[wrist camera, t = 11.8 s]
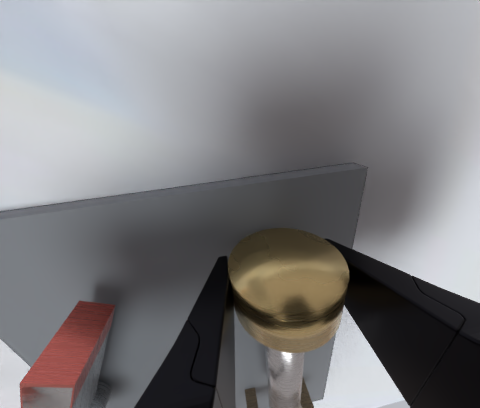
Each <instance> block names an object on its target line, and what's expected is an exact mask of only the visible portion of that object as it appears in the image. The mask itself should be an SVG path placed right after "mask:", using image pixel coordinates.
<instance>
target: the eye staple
mask: <svg viewBox="0 0 480 408" xmlns="http://www.w3.org/2000/svg"><path fill="white" fill-rule="evenodd" d="M245 396H246V404H247V408H258V403H257V397H256V390H255V387H254V388H249V389H245ZM300 408H314V406H313V404H312V401H311V398H310V395H309V392H308V389H307V387H306V384H305V381H304V378H303V377H302V389H301V401H300Z"/></svg>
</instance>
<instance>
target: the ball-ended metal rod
mask: <svg viewBox="0 0 480 408" xmlns="http://www.w3.org/2000/svg"><path fill="white" fill-rule="evenodd" d="M114 310H115V305H111V304H103V303H96V302H88V301H80V300H79V302H78V303H77V305H76V306H75V307H74V309H73V310H72V312H71V313H70V314H69V316H68V317H67V319H66V320H65V321H64V323H63V324H62V325H61V327H60V328H59V330H58V331H57V332H56V334H55V335H54V337H53V338H52V339H51V341H50V342H49V344H48V345H47V346H46V348H45V349H44V351H43V352H42V353H41V355H40V356H39V357H38V359H37V360H36V362H35V363H34V364H33V366H32V367H31V369H30V370H29V371H28V373H27V374H26V376H25V377H24V378H23V380H22V381H21V382H20V397H21V408H106V407H107V404H108V401H109V398H110V395H111V393H112V389H111V387H110V386H109V385H107V384H105V383H103V382H100V381H98V380H99V375H100V371H101V366H102V361H103V356H104V352H105V347H106V342H107V337H108V333H109V329H110V327H111V324H112V319H113V314H114Z"/></svg>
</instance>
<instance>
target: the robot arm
mask: <svg viewBox="0 0 480 408" xmlns="http://www.w3.org/2000/svg"><path fill="white" fill-rule="evenodd" d="M325 240H326V241H328V242H329V243H331V244H332V245H333V246H334V247H335V248H337V249H338V250H339V252H340V253H341V254H342V255H343V257H344V259H345V260H346V263H347V265H348V269H349V282H348V287H347V292H346V297H345V302H344V305H345V307H346V308H347V310H348V311H349V313H350V315H351V316H352V318H353V319H354V321H355V322H356V324H357V325H358V327H359V329H360V330H361V332H362V333H363V335H364V336H365V338H366V339H367V341H368V343H369V344H370V346H371V347H372V349H373V350H374V352H375V353H376V355H377V357H378V358H379V360H380V361H381V363H382V364H383V366H384V367H385V369H386V371H387V372H388V374H389V375H390V377H391V378H392V380H393V381H394V383H395V385H396V386H397V388H398V389H399V391H400V392H401V394H402V395H403V397H404V399H405V400H406V402H407V403H408V405H409V406H410V408H480V303H478V302H475V301H473V300H470V299H468V298H465V297H462V296H460V295H457V294H455V293H452V292H450V291H447V290H445V289H442V288H440V287H437V286H435V285H433V284H430V283H428V282H426V281H423V280H421V279H419V278H417V277H414V276H411V275H410V274H407V273H405V272H403V271H401V270H398V269H396V268H394V267H391V266H389V265H387V264H385V263H382V262H380V261H378V260H375V259H373V258H371V257H369V256H366V255H364V254H362V253H360V252H357V251H355V250H353V249H350V248H348V247H346V246H344V245H341V244H339V243H337V242H335V241H332V240H330V239H328V238H325ZM134 408H236V402H235V324H234V302H233V296H232V290H231V284H230V278H229V273H228V257H227V256H220V257H218V259H217V261H216V263H215V265H214V267H213V269H212V271H211V273H210V275H209V277H208V278H207V280H206V282H205V284H204V286H203V288H202V290H201V292H200V294H199V296H198V298H197V300H196V302H195V304H194V306H193V308H192V310H191V312H190V314H189V316H188V318H187V320H186V322H185V324H184V326H183V328H182V330H181V332H180V333H179V335H178V337H177V339H176V341H175V343H174V345H173V346H172V348H171V349H170V351H169V353H168V354H167V356H166V358H165V359H164V361H163V363H162V364H161V366H160V367H159V369H158V370H157V372H156V374H155V375H154V377H153V378H152V380H151V382H150V383H149V385H148V386H147V388H146V389H145V391H144V393H143V394H142V396H141V397H140V399H139V400H138V402H137V404H136V405H135V407H134Z"/></svg>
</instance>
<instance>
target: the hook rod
mask: <svg viewBox="0 0 480 408" xmlns="http://www.w3.org/2000/svg"><path fill="white" fill-rule="evenodd" d="M228 273H229V278H230V284H231V290H232V296H233V302H234V308H235V312H236V315H237V318H238V319H239V321H240V323H241V325H242V326H243V328H244V329H245V330H246V331H247V332H248V333H249V335H250V336H252V337H253V338H254V339H255V340H257V341H258V342H260V343H261V344H263V345H265V355H266V369H267V382H268V395H269V408H300V401H301V389H302V377H303V365H304V352H308V351H312V350H315V349H317V348H319V347H321V346H323V345H324V344H326V343H327V342H328V341H329V340H330V339H331V338H332V337H333V336H334V335H335V333H336V331H337V330H338V327H339V325H340V321H341V316H342V312H343V307H344V302H345V297H346V292H347V287H348V282H349V269H348V265H347V263H346V260H345V259H344V257H343V255H342V254H341V253H340V252H339V250H338V249H337V248H335V247H334V246H333V245H332V244H331V243H329V242H328V241H326V240H325V239H323V238H321V237H319V236H317V235H315V234H312V233H310V232H306V231H303V230H298V229H291V228H273V229H266V230H262V231H258V232H256V233H253V234H251V235H249V236H247V237H245V238H244V239H242V240H241V241H240V242H239V243H238V244H237V245H236V246H235V247H234V248H233V250H232V252H231V254H230V256H229V260H228Z"/></svg>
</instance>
